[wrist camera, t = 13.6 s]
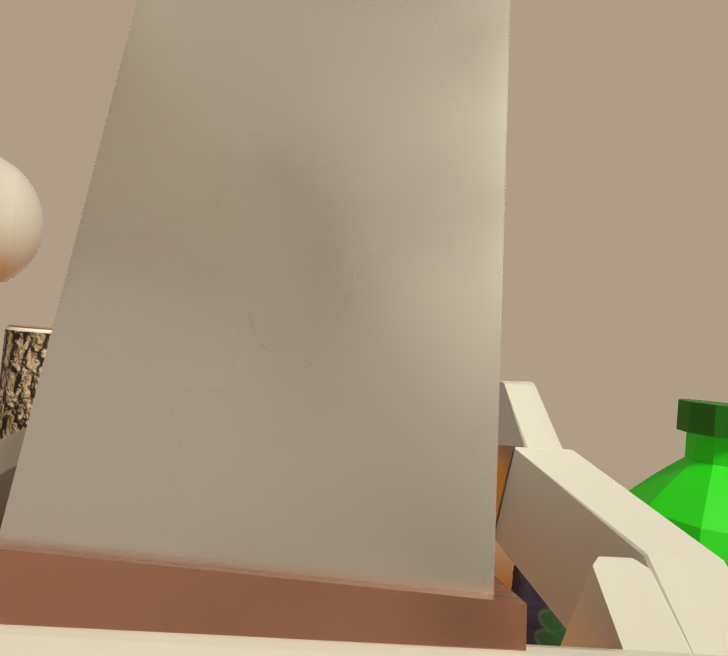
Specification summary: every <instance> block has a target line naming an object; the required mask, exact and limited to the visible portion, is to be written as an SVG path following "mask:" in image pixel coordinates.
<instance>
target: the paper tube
mask: <svg viewBox="0 0 728 656" xmlns="http://www.w3.org/2000/svg"><path fill="white" fill-rule="evenodd" d="M51 332H52V328H48V327H37V326H23V325H9V326H7V327H6V329H5V337H4V345H3V354H2V362H1V370H0V440H1V439H3V438H5V437H7V436H9V435H11V434H13V433H16V432H18V431H20V430H22V429H24V428H26V427H27V424H28V421H29V417H30V413H31V409H32V405H33V401H34V397H35V394H36V390H37V386H38V382H39V378H40V374H41V370H42V366H43V363H44V359H45V355H46V351H47V347H48V343H49V339H50V336H51Z"/></svg>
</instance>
